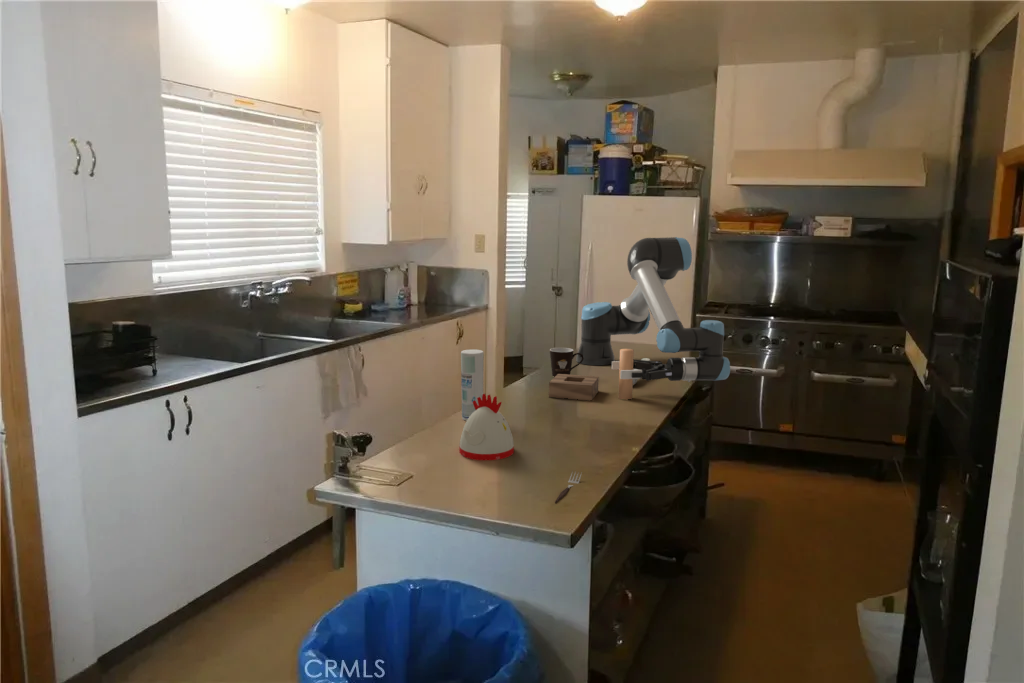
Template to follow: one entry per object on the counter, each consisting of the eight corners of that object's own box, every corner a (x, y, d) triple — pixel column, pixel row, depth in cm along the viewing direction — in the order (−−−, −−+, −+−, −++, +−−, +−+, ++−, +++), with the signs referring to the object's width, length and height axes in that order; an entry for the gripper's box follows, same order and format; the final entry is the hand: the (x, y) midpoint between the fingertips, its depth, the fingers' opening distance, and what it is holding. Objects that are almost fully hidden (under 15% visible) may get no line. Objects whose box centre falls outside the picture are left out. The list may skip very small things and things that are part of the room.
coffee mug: (546, 378, 271) (546, 351, 269) (553, 373, 279) (554, 346, 277) (576, 381, 267) (577, 353, 265) (583, 376, 275) (584, 349, 273)
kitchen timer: (494, 464, 182) (494, 404, 179) (448, 454, 189) (447, 396, 186) (523, 448, 193) (524, 392, 191) (479, 439, 201) (479, 385, 198)
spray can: (488, 418, 220) (488, 351, 217) (472, 422, 216) (471, 354, 212) (472, 413, 225) (472, 348, 221) (456, 418, 220) (456, 351, 216)
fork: (549, 504, 159) (549, 495, 158) (571, 478, 173) (571, 470, 173) (561, 506, 158) (561, 497, 157) (582, 480, 172) (582, 472, 172)
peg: (619, 396, 246) (620, 348, 243) (632, 397, 245) (634, 349, 242) (617, 399, 242) (619, 350, 239) (631, 400, 241) (632, 351, 238)
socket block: (557, 388, 257) (557, 373, 256) (598, 391, 253) (598, 376, 252) (549, 397, 244) (549, 382, 243) (591, 400, 241) (591, 385, 240)
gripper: (692, 389, 232) (624, 390, 230) (669, 371, 256) (608, 372, 254) (693, 365, 230) (625, 366, 229) (670, 350, 255) (608, 350, 253)
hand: (616, 369), depth 242 cm, fingers open, 13 cm apart
